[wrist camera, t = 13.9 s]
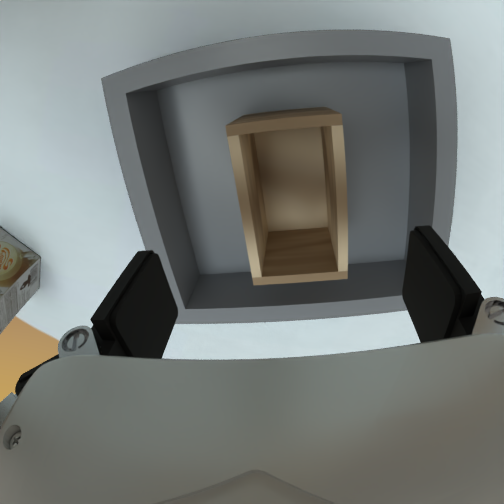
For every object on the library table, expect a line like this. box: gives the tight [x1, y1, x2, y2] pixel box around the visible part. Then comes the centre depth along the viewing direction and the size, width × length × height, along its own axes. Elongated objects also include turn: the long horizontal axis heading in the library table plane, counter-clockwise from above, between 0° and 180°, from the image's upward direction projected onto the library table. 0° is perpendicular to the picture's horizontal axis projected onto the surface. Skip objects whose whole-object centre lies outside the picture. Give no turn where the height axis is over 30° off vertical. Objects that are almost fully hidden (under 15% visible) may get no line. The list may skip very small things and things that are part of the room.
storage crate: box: [101, 30, 457, 324], centre depth 21 cm, size 20×22×6 cm
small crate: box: [225, 107, 348, 285], centre depth 20 cm, size 10×6×7 cm, turn 8°
